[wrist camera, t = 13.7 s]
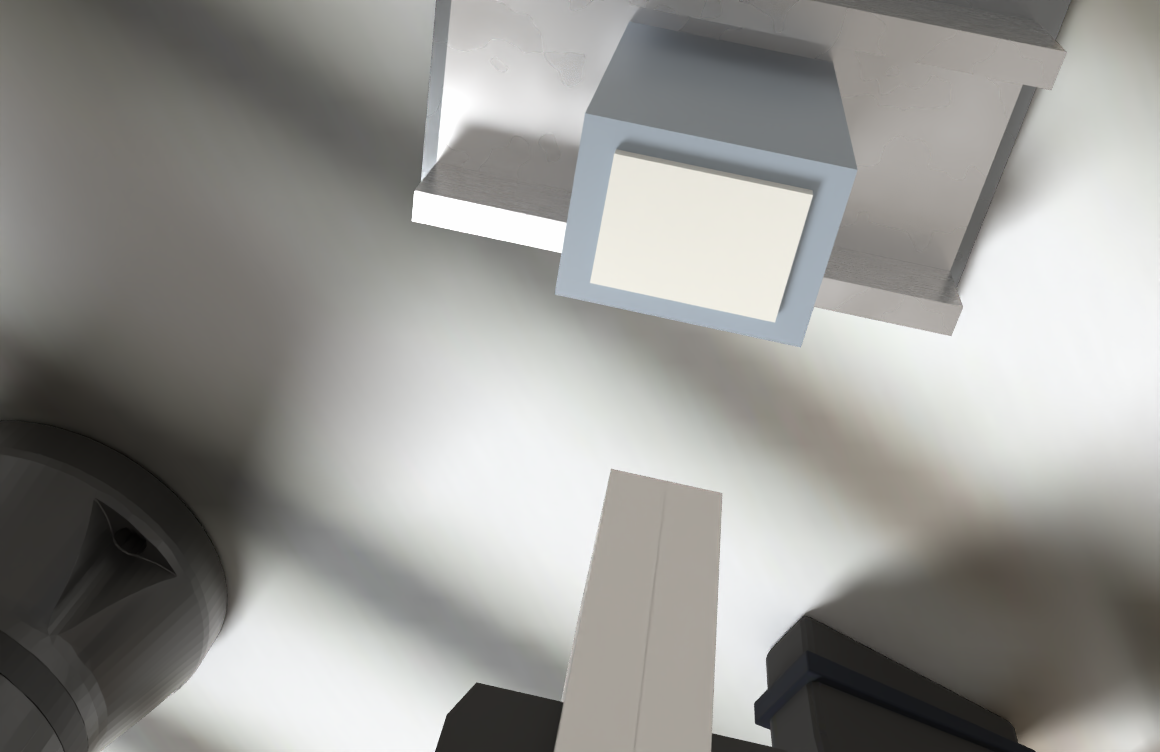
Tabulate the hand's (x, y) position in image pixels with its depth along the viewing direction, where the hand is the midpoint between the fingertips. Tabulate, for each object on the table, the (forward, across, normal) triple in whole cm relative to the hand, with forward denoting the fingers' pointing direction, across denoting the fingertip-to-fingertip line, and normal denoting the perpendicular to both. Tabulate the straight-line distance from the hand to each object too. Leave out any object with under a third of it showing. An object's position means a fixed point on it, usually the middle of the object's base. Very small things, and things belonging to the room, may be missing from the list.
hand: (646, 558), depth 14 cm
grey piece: (+22, 0, 0) cm, 22 cm away
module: (+20, 0, 0) cm, 20 cm away
